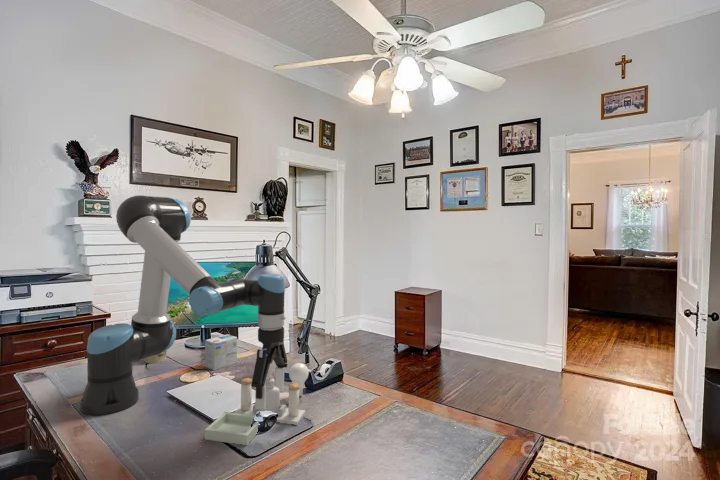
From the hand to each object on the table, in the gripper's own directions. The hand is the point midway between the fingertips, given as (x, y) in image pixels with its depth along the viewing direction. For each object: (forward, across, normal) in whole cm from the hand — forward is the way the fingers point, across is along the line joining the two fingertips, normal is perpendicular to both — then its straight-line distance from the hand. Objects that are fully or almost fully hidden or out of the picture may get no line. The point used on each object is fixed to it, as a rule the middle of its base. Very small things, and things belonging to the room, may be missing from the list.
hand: (270, 398), depth 115 cm
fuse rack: (+5, 0, 0) cm, 5 cm away
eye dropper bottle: (+5, 0, 0) cm, 5 cm away
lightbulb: (+5, +14, -4) cm, 15 cm away
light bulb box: (+5, +33, +35) cm, 49 cm away
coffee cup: (+5, +31, +63) cm, 71 cm away
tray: (+5, -11, +5) cm, 13 cm away
